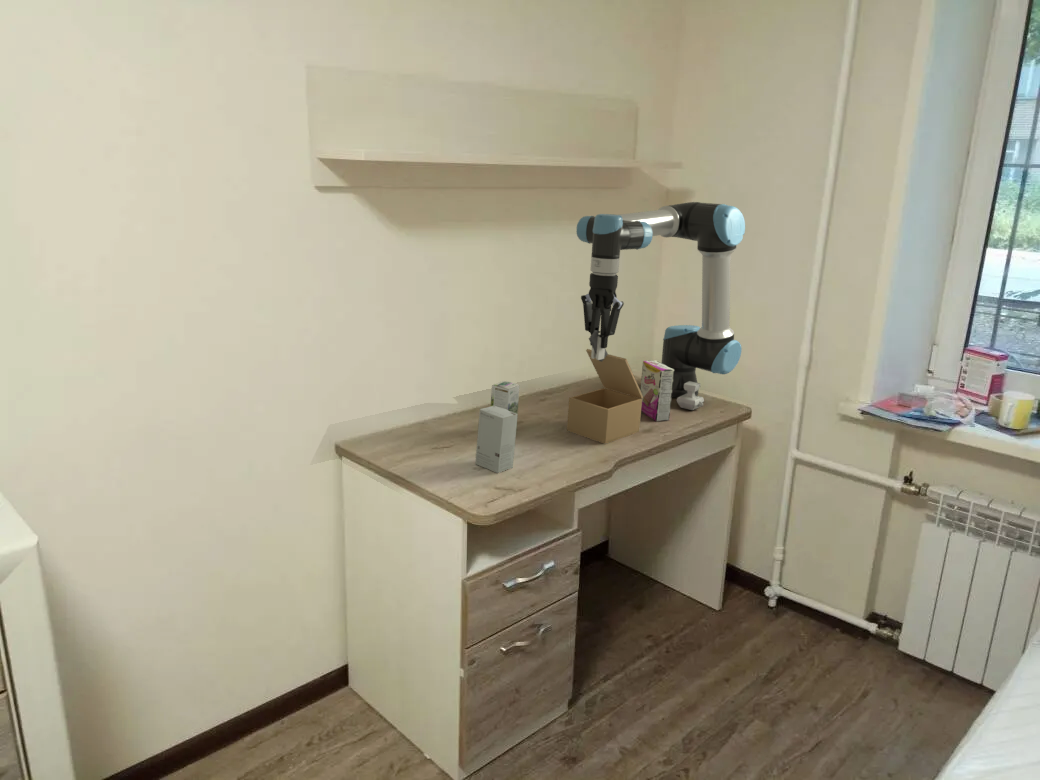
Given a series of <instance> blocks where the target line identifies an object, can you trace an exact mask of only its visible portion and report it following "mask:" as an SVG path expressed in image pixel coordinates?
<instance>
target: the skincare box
mask: <svg viewBox="0 0 1040 780" xmlns="http://www.w3.org/2000/svg"><path fill="white" fill-rule="evenodd" d="M478 414H479V415H478V416H479V418H478V426H477V427H478V428H477V439H476V449H475V451H476V453H475V465H476V466H479V467H482V468H484V469H487V470H489V471H492V472H494V473H496V474H500V473H503V472H506V471H508V470H507V469H509V470H511V469H513V467H514V457H515V456H514V455H515V446H516V438H517V437H516V436H517V430H516V427H517V426H518V416H519V415H518V414H519V413H518V414H516V413H513V412H511V411H508V410H506V409H503V408H500V407H497V406H491V405H490V406H488V407H484V408H480V409H479V413H478ZM510 468H511V469H510ZM505 470H506V471H505ZM502 471H503V472H502ZM499 472H500V473H499Z"/></svg>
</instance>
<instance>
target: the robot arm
mask: <svg viewBox="0 0 1040 780" xmlns="http://www.w3.org/2000/svg"><path fill="white" fill-rule="evenodd" d="M745 232H746V221H745V218H744V215H743V213H742V211H740V209H739V208H738V207H736V206H733V205H728V204H725V203H710V202H699V201H690V202H682V203H677V204H670V205H664V206H661V207H660V208H658V209H657V210H648V211H647V210H646V211H640V212H632V213H631V212H630V213H622V214H609V213H599V214H596V215H595V216H594V215H585V216H582V217H581V218H580V219H579V220H578V222H577V224H576V236H577V238H578V240H580V241H581V242H583V243H587V244H590V245H591V246H592V247H591V258H590V271H591V272H590V274H589V283H588V285H589V287H590V289H589V290H588V293H587V294H583V295H581V296H580V299H581V302H582V307H583V319H584V330H585V331H586V332H588V333H589V334H590V336H591V335H592V334H593V332H594V331H597V332H598V334H599V336H598V341H597V354H596V353H595V351H594V349H593V347H592V345H591V343H590V342H589V344H590V346H591V350H592V353H591V358H592V359H594V358H596V360H601V359H604V356H605V349H607V347H608V343H609V342H608V340H609V336H613V335H615V333H616V330H617V325H618V322H619V317H620V313H621V309H622V308H623V307H624V304H625V303H624V301H622V300H619V298H618V297H617V291H616V290H617V288H618V283H619V282H618V281H619V280H618V279H619V276H618V273H619V271H620V269H619V268H620V257H621V251H623V250H624V251H625V250H626V251H627V250H638V251H639V250H640V249H646V248H647V247H648V246H650V244H651V242H652V240H653V237H655V236H656V237H657V236H661V237H663V238H677V239H684V240H691V241H696V242H697V247H696V248H697V251H698V252H699V253H700V254H701V255H702V258H701V259H702V260H701V261H702V264H701V265H702V266H701V268H702V269H701V271H702V272H701V274H702V276H701V277H702V278H701V280H702V281H701V285H702V286H701V288H702V289H701V326H698V325H692V324H689V325H688V324H685V325H684V324H681V325H670V326H669V327H667V328H666V329H665V330H664V335H663V339H662V341H663V343H662V354H661V363H662V364H664V365H666V366H668V367H670V368H672V369H674V377H673V387H672V397H671V398H673V399H677V398H678V397H680V396H682V395H684V394H686V393H688V392H687V391H686V390H684V384H685V383H687V382H689V381H692V382H696V383H699V382H698V379H697V378H698V377H697V373H696V370H697V369H700V370H703V371H706V372H710V373H712V374H718V375H727V374H729V373H730V372H732V371H733V370H734V369H735V368H736V367H737V365H738V363H739V361H740V358H741V355H742V349H743V348H742V345H741V343H740V342H739V341H738V340H737V339H735V331H734V329H733V328H731V327H730V315H731V314H730V313H731V312H730V309H731V307H730V306H731V266H732V265H731V264H732V254H733V253H734V251H736V250H737V246H738V245H739V244H741V242H742V241H743V239H744V237H743V236H745ZM699 390H700V389H699ZM699 390H698V391H696V392H695V395H696V396H699V392H700V391H699Z"/></svg>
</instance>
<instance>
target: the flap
mask: <svg viewBox="0 0 1040 780" xmlns="http://www.w3.org/2000/svg"><path fill="white" fill-rule="evenodd" d="M599 334H600V333H598V332H597V331H594V332H593V334H592V335H591V334H590V336H589V338H588V340H589V344H590V343H591V345H592V346H591V345H590V346H591V348H592V347H593V349H594V351H595V353H596V354H597V341H598V336H599ZM606 349H607V348H605V356H604V359H601V360H596V358H594V359H592V358H591V353H592V349H589V348H587V349H585V351H586V353H587V355H588V357H589V359H590V361H591V364H592V365H593V367H594V370H595V372H596V374H597V375H598V376H597V377H598V378H599V380H600V383H601V384H602V387H603V388H606V389H609V390H613V391H616V392H620V393H623V394H627V395H630V396H633V397H637V398H641V399H642V398H643V396H642V393H641V391H640V389H641V388H640V387H639V384H638V382H637V379H636V378H635V375H634V374H633V371H632V368H631V367H630V363H629V361H628V359H627V358H624V357H621V356H617V355H613V354H608V350H606Z"/></svg>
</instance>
